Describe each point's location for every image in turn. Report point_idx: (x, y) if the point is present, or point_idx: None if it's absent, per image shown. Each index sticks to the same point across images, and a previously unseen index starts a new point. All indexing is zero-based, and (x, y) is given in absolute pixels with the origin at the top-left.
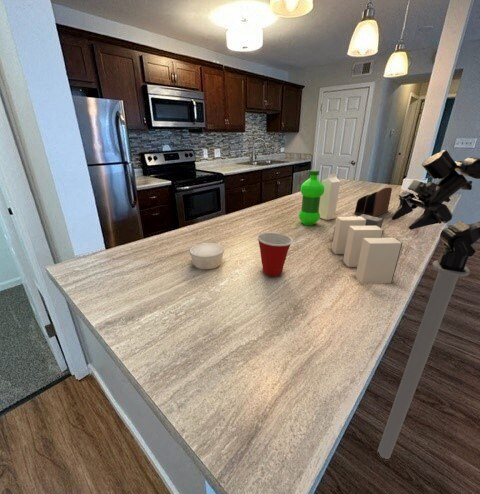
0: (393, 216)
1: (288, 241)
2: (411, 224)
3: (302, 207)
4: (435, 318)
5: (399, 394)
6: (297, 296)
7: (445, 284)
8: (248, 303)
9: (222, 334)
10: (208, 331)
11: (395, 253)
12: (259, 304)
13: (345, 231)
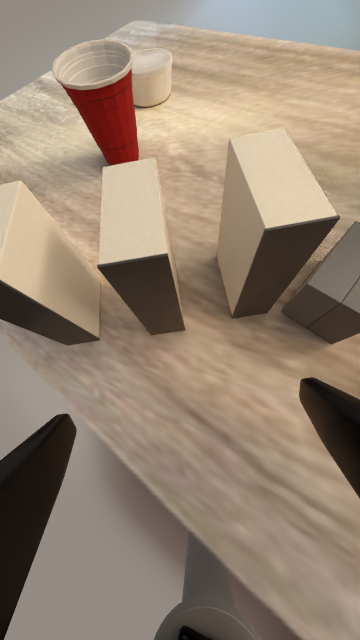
0: (315, 388)
1: (103, 92)
2: (43, 435)
3: None
4: None
5: None
6: (51, 191)
7: (184, 599)
8: (47, 149)
9: (3, 141)
10: (10, 132)
11: None
12: (42, 158)
13: (228, 209)
